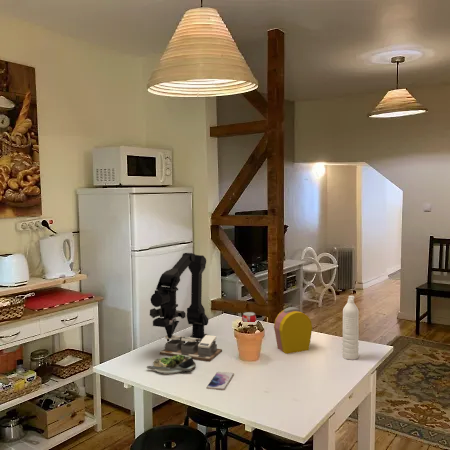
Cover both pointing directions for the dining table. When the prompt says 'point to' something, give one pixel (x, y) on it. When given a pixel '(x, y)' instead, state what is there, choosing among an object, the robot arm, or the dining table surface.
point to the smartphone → (220, 381)
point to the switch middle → (189, 339)
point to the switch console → (190, 349)
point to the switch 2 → (207, 341)
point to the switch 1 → (174, 337)
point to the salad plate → (173, 364)
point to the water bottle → (350, 330)
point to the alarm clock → (292, 331)
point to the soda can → (249, 317)
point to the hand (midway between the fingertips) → (169, 338)
